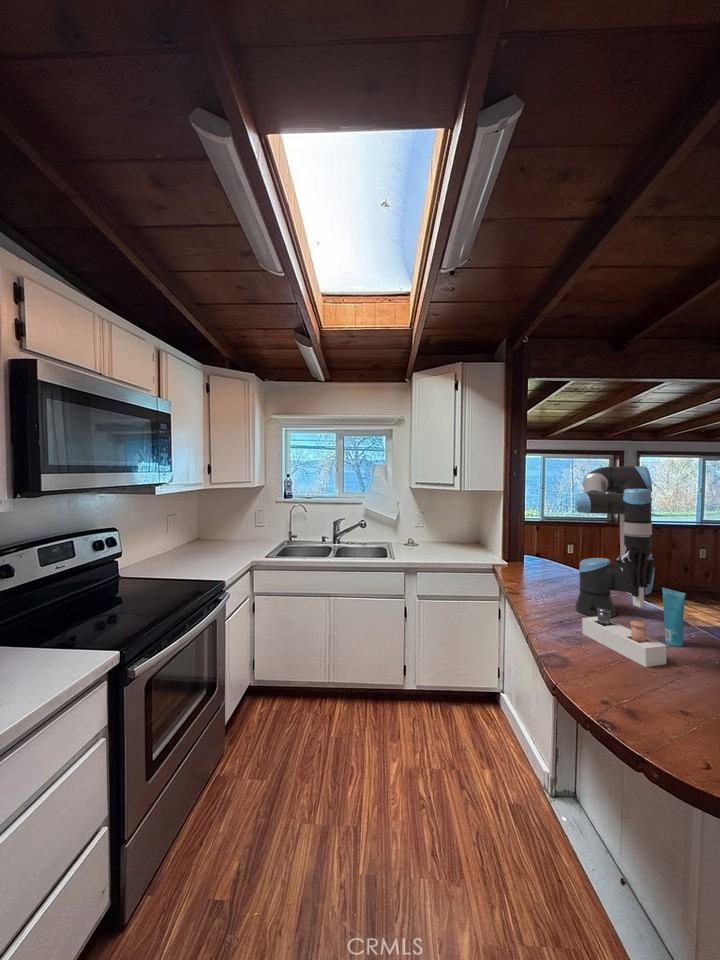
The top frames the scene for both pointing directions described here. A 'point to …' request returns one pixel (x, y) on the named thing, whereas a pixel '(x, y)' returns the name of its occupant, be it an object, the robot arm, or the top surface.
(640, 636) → the tan rounded peg
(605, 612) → the plunger graphite
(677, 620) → the tube
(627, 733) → the top surface
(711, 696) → the top surface
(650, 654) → the block
